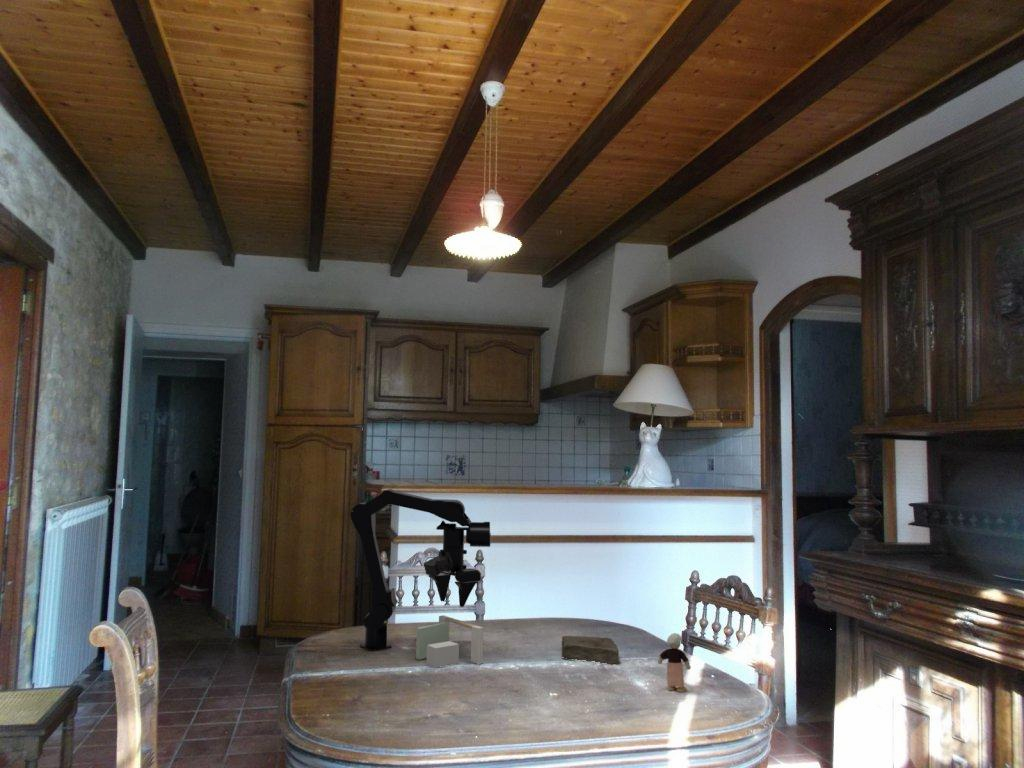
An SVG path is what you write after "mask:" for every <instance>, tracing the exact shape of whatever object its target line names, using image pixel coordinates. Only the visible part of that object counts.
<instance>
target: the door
mask: <svg viewBox="0 0 1024 768" xmlns="http://www.w3.org/2000/svg"><path fill="white" fill-rule="evenodd" d="M448 633H449V634H450V622H449V623H448V622H443V623H439V622H438V623H434V624H428V625H424V626H420V627H416V638H415V643H416V646H415V647H416V651H415V659H416V660H419V661H420V660H423V659H427V645H430V644H436V643H442V642H448Z"/></svg>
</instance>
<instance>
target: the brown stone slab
mask: <svg viewBox="0 0 1024 768" xmlns="http://www.w3.org/2000/svg"><path fill="white" fill-rule="evenodd" d="M561 651H562V652H561V654H562V655H561V658H562V657H564V658H567V659H566V660H568V659H574V660H575V659H577V660H586V661H595V662H600V663H599V664H602V663H607V664H606V665H613V664H617V665H619V664H620V662H619V661H620V660H619V653H620V652H619V648H618V646H617V644H616V643H615V641H614V640H613V639H612V638H609V637H600V636H585V635H583V636H582V635H581V636H580V635H579V636H578V635H575V636H573V635H563V636H561ZM574 660H573V661H574Z"/></svg>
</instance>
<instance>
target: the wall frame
mask: <svg viewBox="0 0 1024 768" xmlns="http://www.w3.org/2000/svg"><path fill="white" fill-rule="evenodd" d="M443 622H448V623H449V624H450V623H453V624H456V625H460V626H462V627H465V628H469V629H471V638H470V639H471V645H470V662H471V663H472V662H473V663H472V664H475V663H476V664H475V665H477V664H479V665H482V664H483V659H484V658H483V657H484V656H483V655H484V652H483V651H484V649H483V648H484V647H483V646H484V627H483V626H479V625H476V624H473V623H469V622H466V621H464V620H459V619H458V618H457V619H456V618H454V617H449V616H447V615H439V616H438V623H443ZM448 641H450V632H449V633H448ZM481 663H482V664H481Z"/></svg>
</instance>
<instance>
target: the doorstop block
mask: <svg viewBox="0 0 1024 768" xmlns="http://www.w3.org/2000/svg"><path fill="white" fill-rule="evenodd" d="M459 648H460V644H459V643H457V642H453V641H451V640H449V641H448V642H442V643H436V644H430V645H427V658H426V666H428V665H430V666H429V667H431V666H432V667H431V668H433V667H435V668H434V669H438V668H437V667H440V666H445V665H450V666H452V665H451V664H456V665H459V660H460V659H459V654H460V652H459V651H460V649H459ZM445 667H446V666H445ZM440 668H441V667H440Z"/></svg>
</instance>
